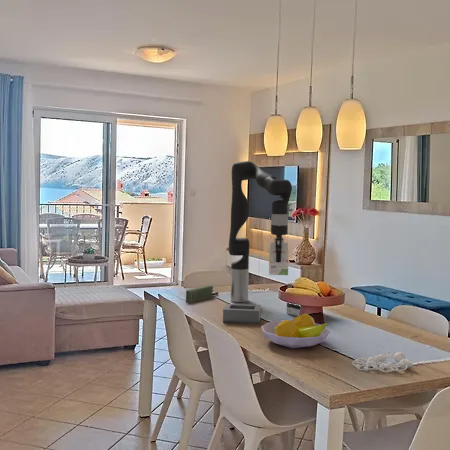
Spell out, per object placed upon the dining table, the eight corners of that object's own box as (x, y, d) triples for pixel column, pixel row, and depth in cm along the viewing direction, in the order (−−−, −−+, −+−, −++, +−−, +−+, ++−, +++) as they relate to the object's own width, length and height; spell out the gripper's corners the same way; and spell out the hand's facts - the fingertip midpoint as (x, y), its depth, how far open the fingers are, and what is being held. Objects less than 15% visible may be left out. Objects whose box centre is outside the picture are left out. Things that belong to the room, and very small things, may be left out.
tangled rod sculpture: (359, 379, 186) (360, 367, 185) (348, 361, 200) (348, 350, 199) (417, 377, 187) (417, 365, 186) (401, 359, 201) (402, 348, 200)
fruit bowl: (250, 337, 228) (250, 310, 227) (308, 331, 238) (309, 305, 237) (282, 358, 202) (282, 327, 201) (346, 350, 212) (346, 321, 211)
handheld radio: (184, 302, 293) (215, 295, 312) (189, 303, 291) (219, 296, 310) (185, 290, 292) (215, 283, 312) (189, 291, 290) (220, 284, 310)
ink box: (287, 273, 257) (288, 241, 256) (288, 275, 252) (288, 242, 251) (269, 273, 258) (269, 241, 257) (268, 274, 253) (269, 242, 252)
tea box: (301, 317, 262) (302, 286, 261) (285, 313, 270) (286, 283, 269) (322, 312, 272) (323, 282, 271) (306, 309, 280) (307, 279, 279)
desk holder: (226, 316, 263) (226, 303, 263) (260, 317, 261) (260, 305, 260) (222, 322, 251) (223, 309, 251) (258, 324, 249) (258, 311, 249)
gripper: (272, 222, 261) (271, 258, 262) (270, 225, 247) (269, 263, 248) (288, 222, 260) (287, 259, 261) (287, 225, 246) (286, 264, 247)
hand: (278, 261), depth 255 cm, fingers closed on ink box, 5 cm apart
